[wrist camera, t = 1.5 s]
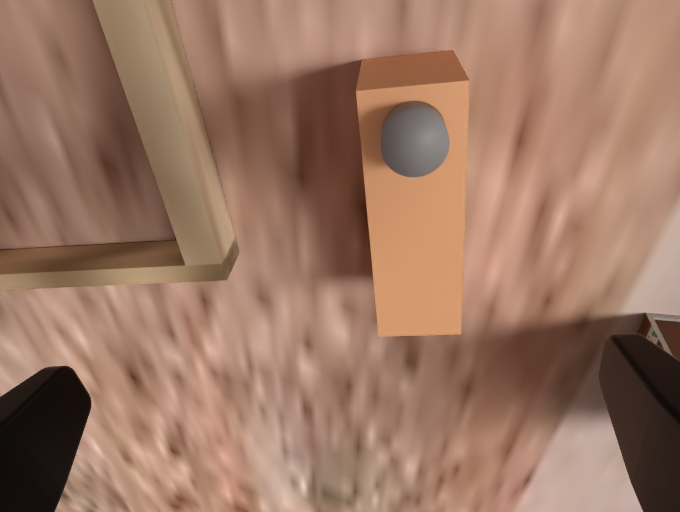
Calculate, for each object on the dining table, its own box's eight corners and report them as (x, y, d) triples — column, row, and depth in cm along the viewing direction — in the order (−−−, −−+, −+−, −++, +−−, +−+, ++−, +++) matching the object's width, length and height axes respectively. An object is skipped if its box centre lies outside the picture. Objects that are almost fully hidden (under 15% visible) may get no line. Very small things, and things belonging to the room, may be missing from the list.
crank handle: (452, 49, 16) (475, 90, 12) (449, 270, 21) (464, 354, 17) (362, 58, 16) (353, 101, 12) (379, 273, 21) (378, 356, 17)
